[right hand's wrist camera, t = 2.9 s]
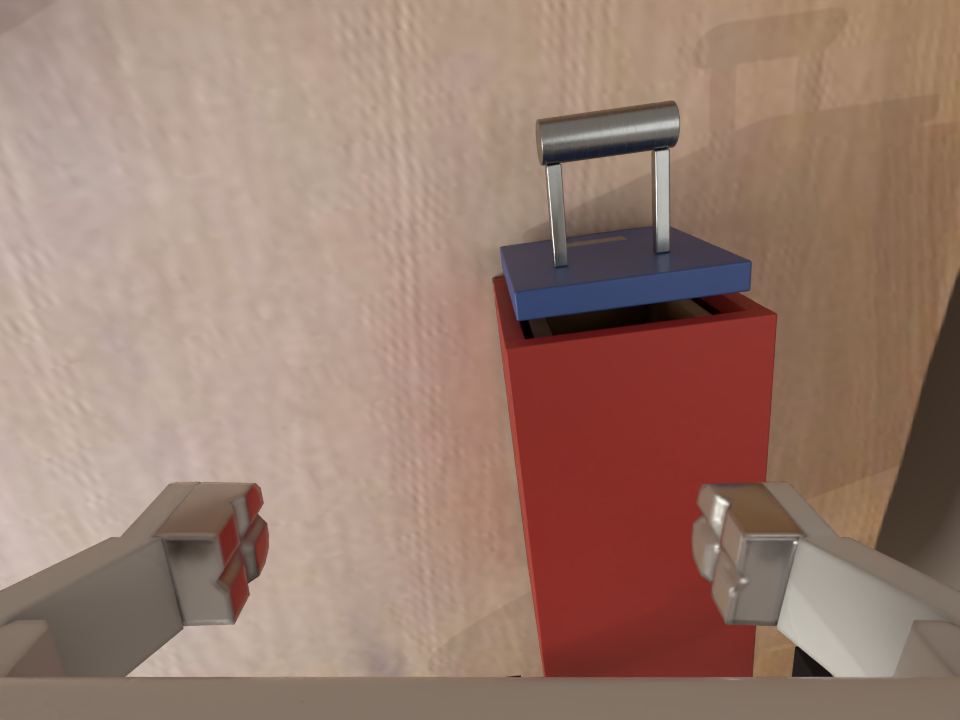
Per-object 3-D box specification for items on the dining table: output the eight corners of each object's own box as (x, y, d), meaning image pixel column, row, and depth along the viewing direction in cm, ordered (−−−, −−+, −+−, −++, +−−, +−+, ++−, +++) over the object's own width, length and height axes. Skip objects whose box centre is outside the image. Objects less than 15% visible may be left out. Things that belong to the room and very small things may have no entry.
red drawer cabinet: (492, 277, 32) (504, 348, 21) (672, 253, 32) (778, 313, 21) (528, 568, 40) (551, 729, 29) (673, 551, 40) (751, 707, 29)
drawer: (485, 128, 28) (494, 123, 19) (665, 103, 28) (761, 86, 19) (534, 541, 38) (555, 669, 29) (668, 525, 38) (733, 649, 28)
